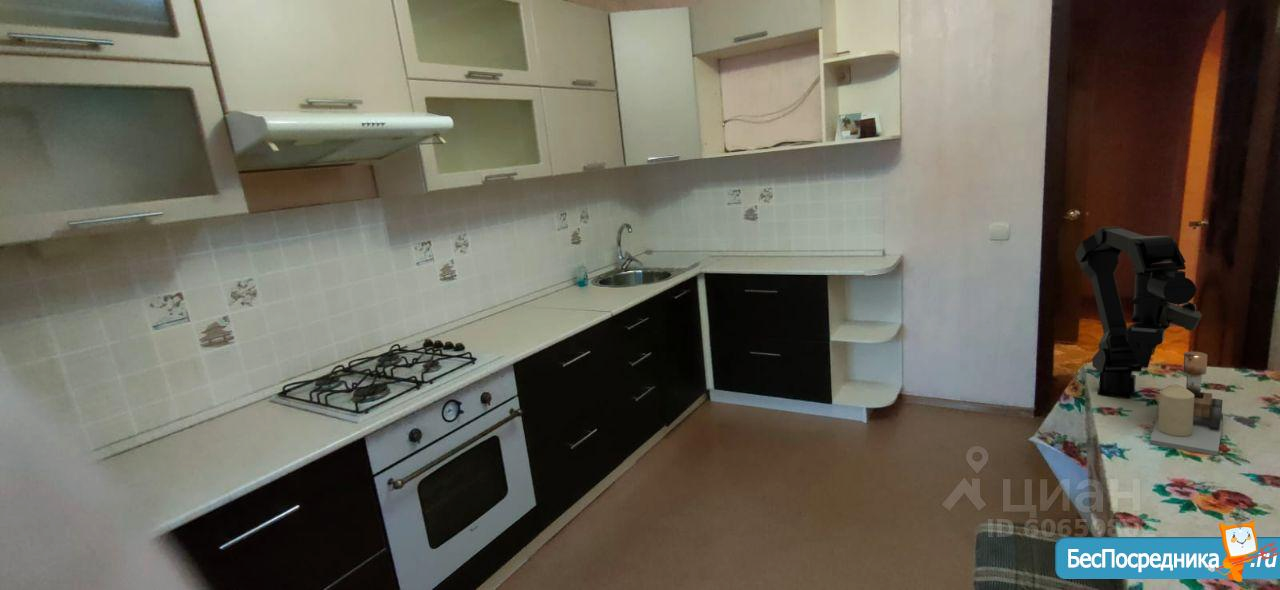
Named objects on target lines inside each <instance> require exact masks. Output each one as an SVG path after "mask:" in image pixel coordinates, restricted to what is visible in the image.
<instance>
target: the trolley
mask: <svg viewBox="0 0 1280 590" xmlns="http://www.w3.org/2000/svg"><path fill="white" fill-rule="evenodd" d="M1223 400H1224V399H1219V398H1213V393H1211V392H1203V391H1201V394H1200V395H1197V396H1195V395H1194V412H1193V416H1194V417H1201V418H1208V419H1209V427H1210V428H1217V429H1220V420H1221V414H1222V413H1223V404H1224V403H1223Z"/></svg>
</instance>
